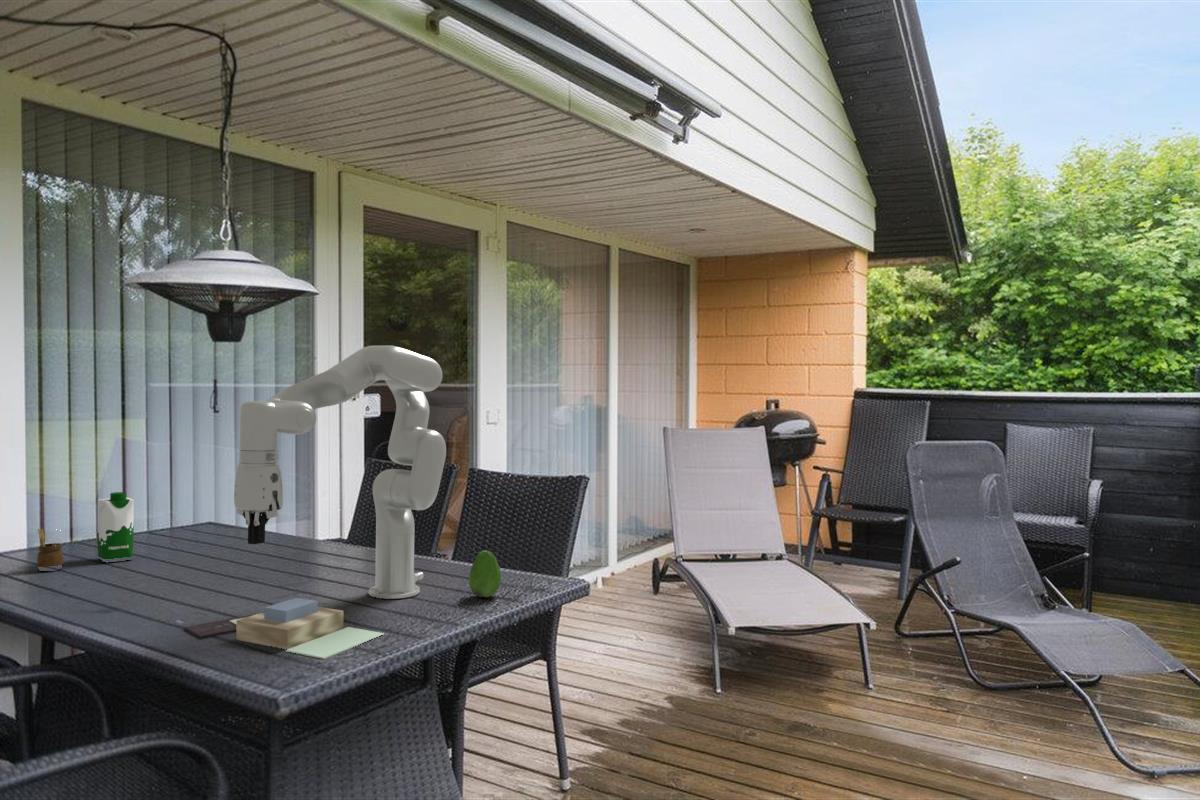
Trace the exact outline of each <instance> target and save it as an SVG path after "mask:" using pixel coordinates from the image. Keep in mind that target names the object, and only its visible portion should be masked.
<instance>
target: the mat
mask: <svg viewBox="0 0 1200 800" xmlns="http://www.w3.org/2000/svg"><path fill="white" fill-rule="evenodd" d="M384 634H385V635H386V633H385V632H380V631H373V630H367V629H364V628H355V627H351V626H348V627H343V629H341V630H339V631H336V632H333V633H330V634H328V635H325V636H322V637H320V638H317V639H314V640H311V641H309V642H306V643H303V644H301V645H298V646H295V647H292V648H290V649H287V650H286V649H285V652H286V653H290V652H291V654H295V653H296V654H295V655H300V654H301V656H307V657H311V658H316V659H321V660H327V659H329V658H331V657H334V656H336V655H339V654H341V653H344V652H346V651H348V650H351V649H354V648H356V647H358V645H359V646H361V645H363V644H362V643H364V642H366V643H368V642H367V641H369V640H371V639H373V640H375V639H374V638H376V637H378V638H380V637H379V636H381V635H383V636H385V635H384ZM381 637H382V636H381ZM376 639H377V638H376ZM371 641H372V640H371ZM369 642H370V641H369ZM360 644H361V645H360ZM364 644H365V643H364ZM355 646H356V647H355ZM353 647H354V648H353Z"/></svg>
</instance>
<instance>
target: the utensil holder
mask: <svg viewBox="0 0 1200 800" xmlns="http://www.w3.org/2000/svg"><path fill="white" fill-rule="evenodd" d="M37 531H38V536H39V539H40V540H41V543H42V544H40V545H39V547H38V550H39V552H38V554H37V557H36V558H37V566H38V567H49V566H58V565H62V564H63V565H64V553H63V550H62V547H63V546H62V543H60V540H61V537H62V535H63V534H62V530H61V529H59V528H58V529H55V530H53V531H52V533H51V534H52V535H51V543H45V540H46V537H45V533H44V529H43V528H37ZM58 531H59V535H60V537H59V540H58V541H57V540H54V538H53V536H55V535H54V534H55V532H56V533H58ZM57 535H58V534H56V536H55V539H57ZM54 541H55V542H54Z"/></svg>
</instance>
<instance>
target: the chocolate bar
mask: <svg viewBox="0 0 1200 800" xmlns="http://www.w3.org/2000/svg"><path fill="white" fill-rule="evenodd" d="M259 613H260V612H259ZM259 613H253V614H249V615H248V614H247V615H243V616H239V617H232V618H227V619H222V620H216V621H210V622H206V623H205V622H204V623H200V624H194V625H189V626H185V627H183V629H184V631H185V630H186V631H185V632H187V631H188V633H189V632H190V633H189V634H190V635H193V636H194V635H195V637H196V636H197V637H196V638H197V639H200V640H204V639H208V637H209V638H213V637H212V636H214V637H219V636H224V635H228V633H229V634H234V633H236V624H237V620H239V619H243V618H246V617H249V616H253V615H256V614H259ZM233 632H234V633H233ZM223 634H224V635H223ZM218 635H219V636H218ZM203 638H204V639H203Z"/></svg>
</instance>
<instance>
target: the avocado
mask: <svg viewBox="0 0 1200 800" xmlns="http://www.w3.org/2000/svg"><path fill="white" fill-rule="evenodd" d="M468 578H469V579H468V584H469V587H470V590H471V592H472V593H473V594H474V595H475V596H476V597H478V598H481V597H485V598H490V597H491V596H493V595H494V594H496V592H498V590H499V588H500V585H501V580H502V575H501V568H500V566H499V562H498V560H497V557H496V556H495V555H494V554H493V552H492V551H490V550H486V549H485V550H482V551H480V552H478V554H476V558H475V559H474V560H473V564H472V565H471V568H470V571H469V577H468Z"/></svg>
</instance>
